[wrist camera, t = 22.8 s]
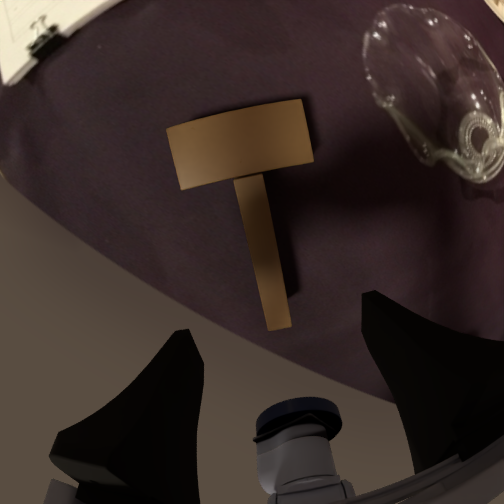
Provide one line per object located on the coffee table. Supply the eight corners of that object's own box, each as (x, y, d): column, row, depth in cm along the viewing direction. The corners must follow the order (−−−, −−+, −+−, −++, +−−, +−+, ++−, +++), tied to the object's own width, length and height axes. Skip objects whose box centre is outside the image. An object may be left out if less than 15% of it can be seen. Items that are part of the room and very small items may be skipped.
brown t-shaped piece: (227, 312, 22) (224, 339, 18) (177, 130, 17) (163, 127, 14) (323, 292, 21) (335, 316, 18) (292, 105, 16) (302, 96, 13)
